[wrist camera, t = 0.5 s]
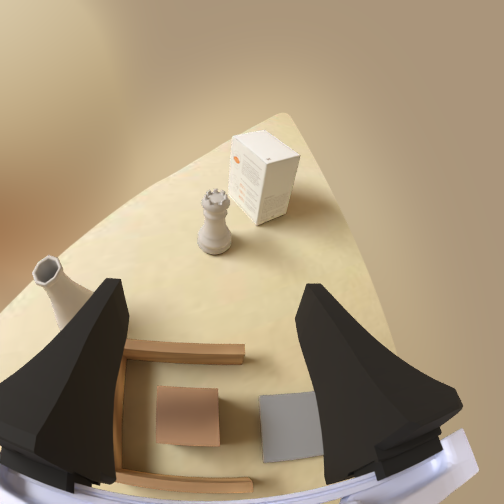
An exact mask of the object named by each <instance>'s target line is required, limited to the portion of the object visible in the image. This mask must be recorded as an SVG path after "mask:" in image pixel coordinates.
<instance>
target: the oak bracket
mask: <svg viewBox="0 0 504 504" xmlns="http://www.w3.org/2000/svg"><path fill="white" fill-rule="evenodd" d="M244 356H245V344H199V343H176V342H159V341H146V340H134V339H126V343H125V347H124V351H123V356H122V360H121V364H120V369H119V374H118V378H117V383H116V389H115V397H114V413H113V445H114V461H115V471H116V478H117V480H116V481H115V482H118V483H122V484H127V485H133V486H139V487H145V488H152V489H159V490H168V491H179V492H193V493H246V492H253V482H252V481H251V480H250V479H249V477H237V478H203V477H183V476H171V475H162V474H153V473H146V472H139V471H133V470H128V469H122V415H123V397H124V384H125V373H126V363H127V359H134V360H144V361H155V362H169V363H187V364H222V365H241V364H242V362H243V359H244Z"/></svg>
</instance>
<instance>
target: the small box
mask: <svg viewBox="0 0 504 504" xmlns="http://www.w3.org/2000/svg"><path fill="white" fill-rule="evenodd" d="M299 160H300V155H299V154H298V153H297V152H295V151H294V150H293V149H291V148H290V147H288V146H287V145H286V144H284V143H283V142H282V141H280V140H279V139H277V138H276V137H274V136H273V135H272V134H270V133H269V132H267V131H266V130H260V131H255V132H249V133H244V134H239V135H235V136H232V144H231V157H230V170H229V185H228V195H229V196H230V197H231V198H232V199H233V200H234V202H235V203H236V204H237V205H238V206H239V207H240V208H241V209H242V210H243V212H244V213H245V214H246V215H247V216H248V217H249V218H250V219H251V220H252V221H253V223H254V224H255V225H256V226H257V225H260V224H262V223H264V222H267V221H269V220H272V219H274V218H276V217H279V216H281V215H284V214H286V212H287V208H288V204H289V200H290V196H291V192H292V188H293V184H294V180H295V176H296V172H297V168H298V164H299Z"/></svg>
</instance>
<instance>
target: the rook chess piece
mask: <svg viewBox="0 0 504 504" xmlns="http://www.w3.org/2000/svg"><path fill="white" fill-rule="evenodd" d="M201 205H202V206H203V208H204V210H203V214H204V216H205V220H204V224H203V226H202V227H201V228H200V230H199V232H198V238H197V244H198V246H199V247H200V249H202V250H203V251H204V252H206V253H209V254H220V253H223V252H225V251H226V250H227V249H229V247H230V245H231V232H230V230H229V229H228V227H227V225H226V222H225V217H226V215H227V210H226V209H227V208H228V207H229V206H230V200H229V199H228V197H227V195H225V192H224V191H223V190H221V193H220V192H218V189H214V192H212V193H211V191H210V190H209V191H207V192H206V195H205V197H203V199H202V200H201Z"/></svg>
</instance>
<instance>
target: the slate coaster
mask: <svg viewBox="0 0 504 504" xmlns="http://www.w3.org/2000/svg"><path fill="white" fill-rule="evenodd" d="M259 410H260V424H261V439H262V453H263V462H264V463H267V462H278V461H287V460H295V459H302V458H308V457H314V456H320V455H324V453H323V442H322V432H321V425H320V418H319V412H318V406H317V401H316V395H315V391H312V392H303V393H292V394H280V395H263V396H259Z"/></svg>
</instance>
